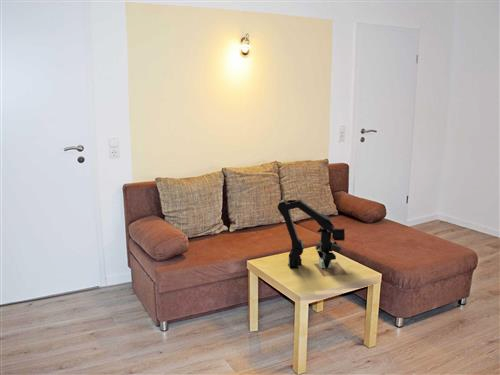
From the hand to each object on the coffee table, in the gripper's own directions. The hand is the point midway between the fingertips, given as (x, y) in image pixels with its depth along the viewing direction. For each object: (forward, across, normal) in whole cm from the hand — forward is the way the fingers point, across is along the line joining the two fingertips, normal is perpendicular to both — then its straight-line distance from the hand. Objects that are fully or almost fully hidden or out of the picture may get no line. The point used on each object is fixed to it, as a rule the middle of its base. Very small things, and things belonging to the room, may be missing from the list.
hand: (324, 266), depth 251 cm
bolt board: (+1, -4, -2) cm, 5 cm away
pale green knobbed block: (0, 0, 0) cm, 0 cm away
